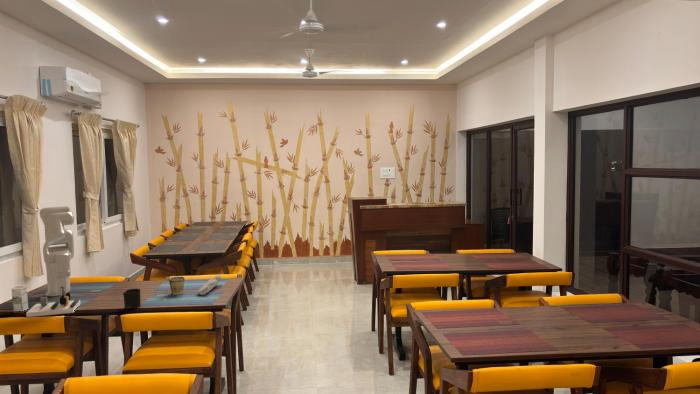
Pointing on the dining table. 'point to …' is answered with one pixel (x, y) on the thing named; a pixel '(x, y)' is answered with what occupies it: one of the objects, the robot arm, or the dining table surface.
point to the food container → (209, 285)
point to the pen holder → (132, 298)
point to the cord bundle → (59, 302)
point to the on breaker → (44, 301)
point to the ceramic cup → (177, 285)
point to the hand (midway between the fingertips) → (65, 302)
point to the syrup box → (19, 298)
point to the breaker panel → (46, 309)
